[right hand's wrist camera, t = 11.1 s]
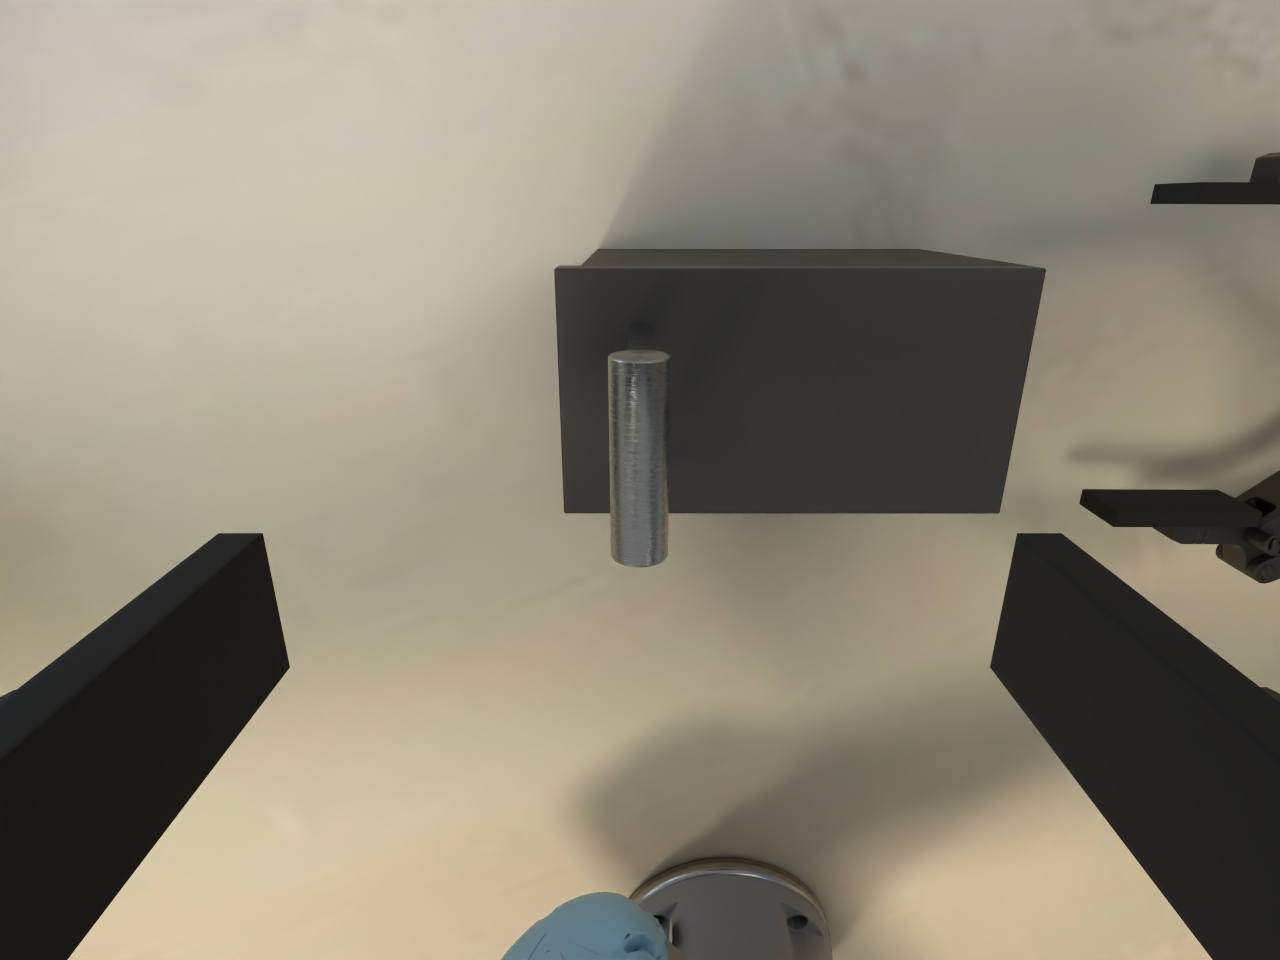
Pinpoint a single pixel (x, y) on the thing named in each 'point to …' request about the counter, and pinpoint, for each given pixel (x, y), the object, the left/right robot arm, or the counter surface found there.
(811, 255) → the chest
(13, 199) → the counter surface
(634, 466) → the lid
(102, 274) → the counter surface
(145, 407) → the counter surface
